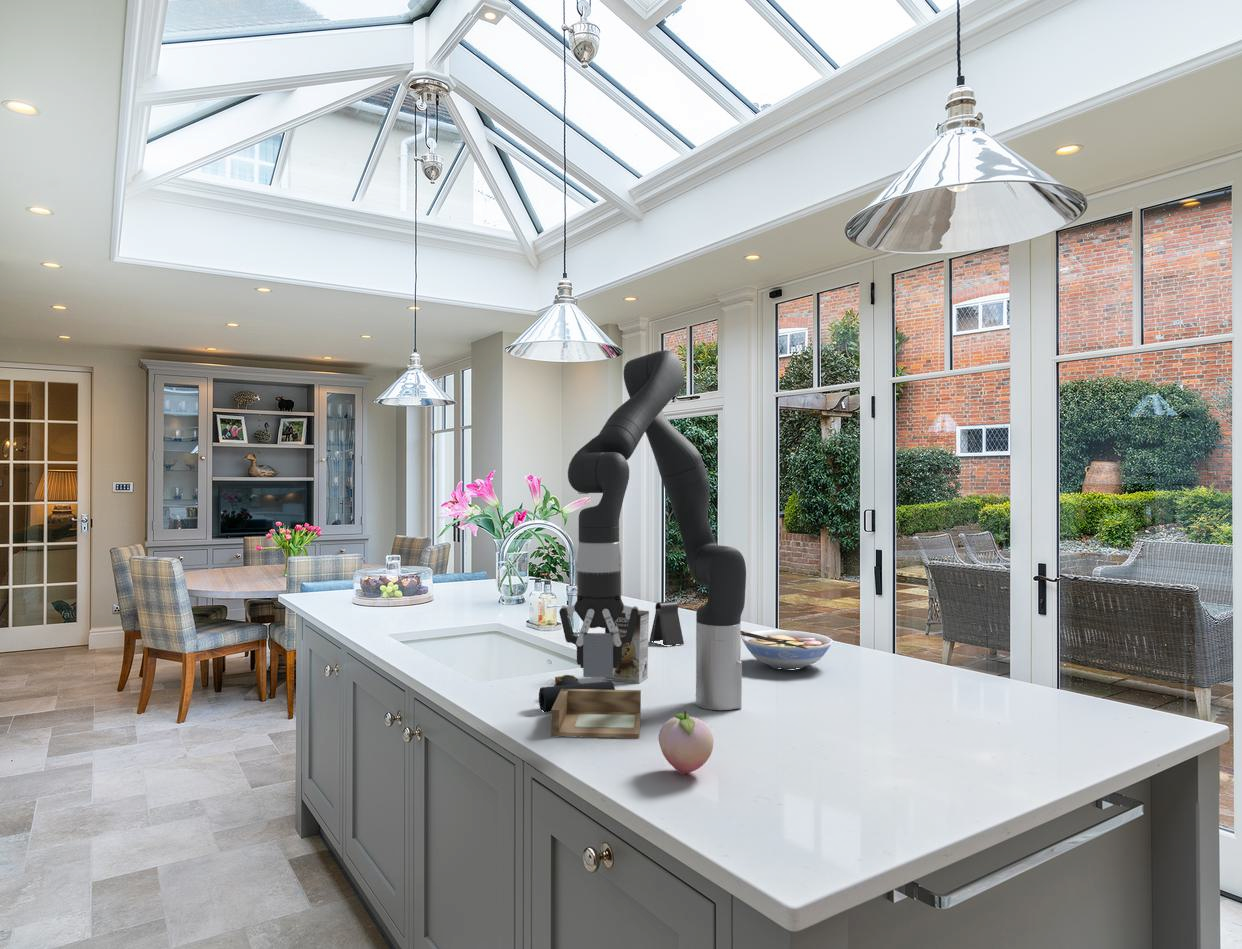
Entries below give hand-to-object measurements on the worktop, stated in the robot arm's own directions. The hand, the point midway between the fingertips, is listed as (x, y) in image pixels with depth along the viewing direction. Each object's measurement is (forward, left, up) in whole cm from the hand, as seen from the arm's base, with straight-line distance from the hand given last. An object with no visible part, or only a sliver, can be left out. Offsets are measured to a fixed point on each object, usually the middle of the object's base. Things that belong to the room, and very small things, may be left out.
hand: (599, 666), depth 135 cm
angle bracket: (0, -1, -1) cm, 2 cm away
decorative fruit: (-15, +9, -15) cm, 23 cm away
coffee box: (-3, -52, -15) cm, 54 cm away
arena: (+1, -15, -14) cm, 21 cm away
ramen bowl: (-43, -67, -15) cm, 80 cm away
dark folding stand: (-13, -95, -15) cm, 97 cm away
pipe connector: (+8, -30, -15) cm, 34 cm away
